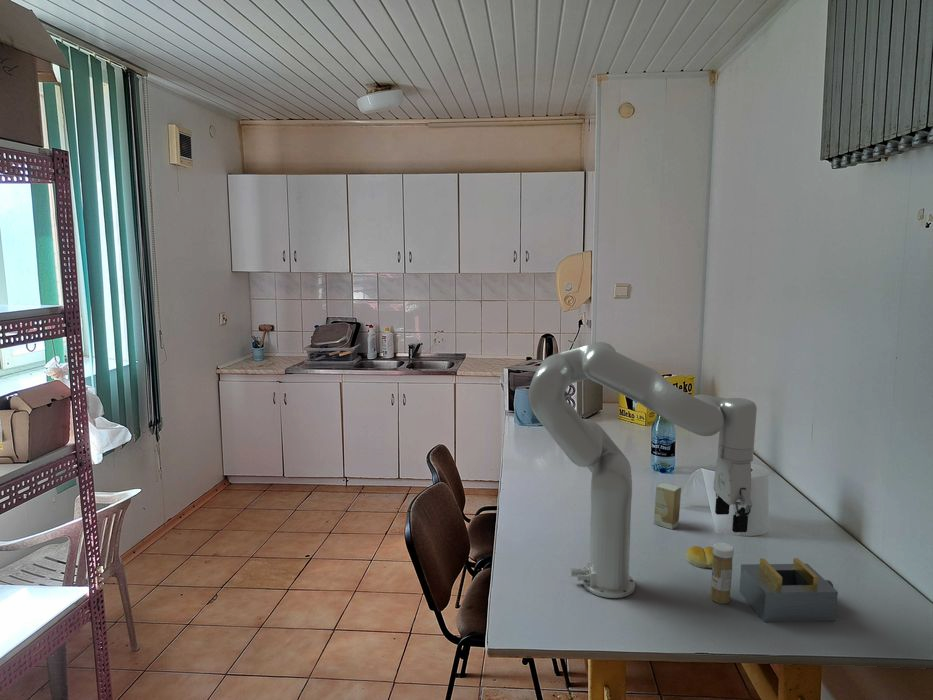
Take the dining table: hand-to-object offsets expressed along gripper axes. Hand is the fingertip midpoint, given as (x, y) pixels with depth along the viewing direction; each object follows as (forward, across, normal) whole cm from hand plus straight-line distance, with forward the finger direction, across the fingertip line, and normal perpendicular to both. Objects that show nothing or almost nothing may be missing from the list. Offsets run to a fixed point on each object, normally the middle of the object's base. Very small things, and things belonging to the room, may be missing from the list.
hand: (730, 522), depth 153 cm
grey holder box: (+19, +4, +12) cm, 23 cm away
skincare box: (+19, -41, -1) cm, 46 cm away
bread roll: (+20, -18, +2) cm, 27 cm away
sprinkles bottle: (+19, +1, -1) cm, 19 cm away
